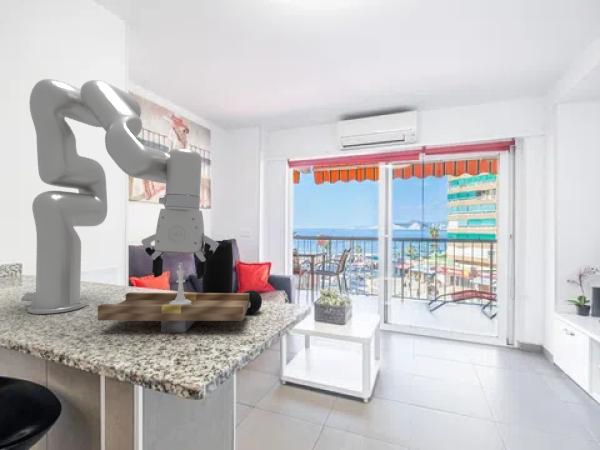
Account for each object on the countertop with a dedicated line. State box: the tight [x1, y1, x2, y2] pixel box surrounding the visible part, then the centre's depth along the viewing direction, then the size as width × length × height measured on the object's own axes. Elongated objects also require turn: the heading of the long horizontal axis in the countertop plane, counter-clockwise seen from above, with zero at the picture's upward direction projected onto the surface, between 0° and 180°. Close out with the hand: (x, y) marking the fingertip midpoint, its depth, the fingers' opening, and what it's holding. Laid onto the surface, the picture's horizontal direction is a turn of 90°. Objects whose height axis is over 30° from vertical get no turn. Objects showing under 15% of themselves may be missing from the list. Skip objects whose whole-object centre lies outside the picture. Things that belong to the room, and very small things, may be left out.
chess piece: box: [169, 261, 192, 305], centre depth 72 cm, size 5×5×10 cm
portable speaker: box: [201, 239, 234, 293], centre depth 88 cm, size 8×9×19 cm
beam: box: [97, 292, 249, 333], centre depth 72 cm, size 30×13×6 cm, turn 93°
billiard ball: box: [243, 289, 263, 315], centre depth 82 cm, size 6×6×6 cm
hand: (179, 277), depth 72 cm, fingers open, 9 cm apart
